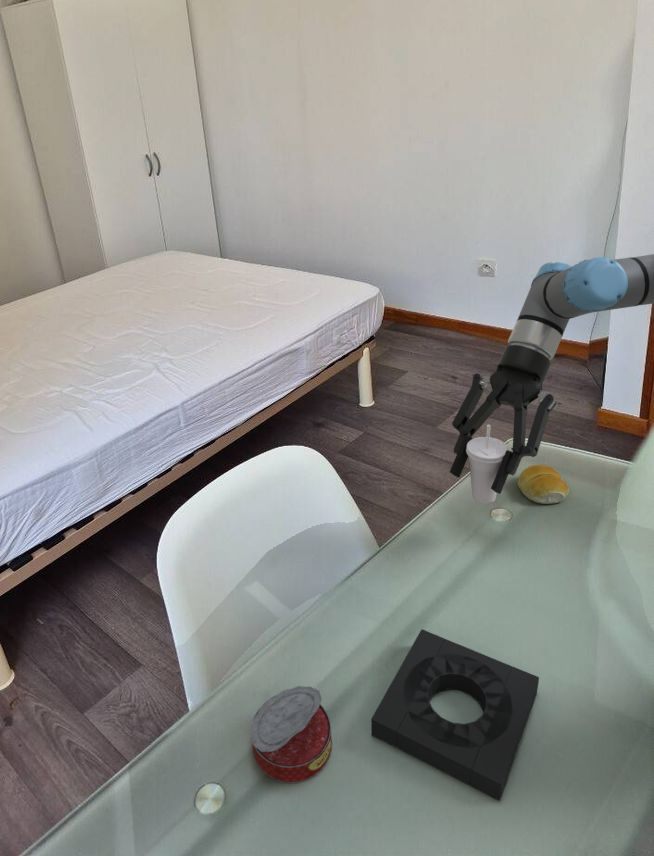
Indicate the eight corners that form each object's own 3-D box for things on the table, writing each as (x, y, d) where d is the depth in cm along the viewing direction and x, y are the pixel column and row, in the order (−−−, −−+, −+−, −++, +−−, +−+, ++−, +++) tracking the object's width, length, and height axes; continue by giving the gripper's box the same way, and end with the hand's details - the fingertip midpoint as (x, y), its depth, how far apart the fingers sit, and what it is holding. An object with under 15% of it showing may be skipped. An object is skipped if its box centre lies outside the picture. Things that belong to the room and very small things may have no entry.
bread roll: (553, 474, 130) (556, 456, 129) (573, 503, 122) (576, 485, 121) (510, 477, 130) (512, 459, 129) (527, 507, 122) (529, 488, 121)
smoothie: (463, 506, 111) (467, 433, 105) (463, 483, 117) (467, 412, 111) (505, 510, 109) (511, 435, 103) (503, 486, 115) (509, 414, 109)
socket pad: (537, 693, 89) (539, 677, 88) (499, 801, 78) (501, 784, 76) (421, 644, 98) (421, 628, 96) (371, 735, 86) (371, 719, 84)
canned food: (283, 807, 83) (240, 781, 77) (262, 729, 91) (222, 700, 86) (361, 759, 82) (324, 729, 77) (333, 684, 91) (297, 652, 85)
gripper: (593, 377, 109) (539, 511, 105) (481, 348, 121) (429, 467, 118) (584, 359, 103) (527, 500, 100) (467, 330, 115) (413, 455, 112)
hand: (474, 482), depth 109 cm, fingers closed on smoothie, 6 cm apart
